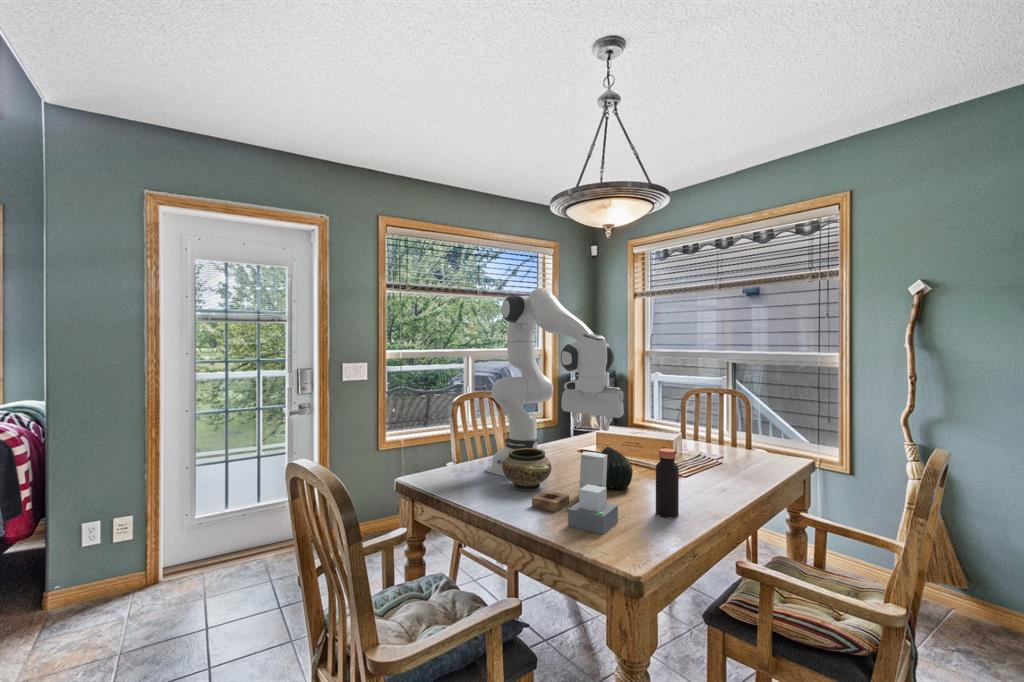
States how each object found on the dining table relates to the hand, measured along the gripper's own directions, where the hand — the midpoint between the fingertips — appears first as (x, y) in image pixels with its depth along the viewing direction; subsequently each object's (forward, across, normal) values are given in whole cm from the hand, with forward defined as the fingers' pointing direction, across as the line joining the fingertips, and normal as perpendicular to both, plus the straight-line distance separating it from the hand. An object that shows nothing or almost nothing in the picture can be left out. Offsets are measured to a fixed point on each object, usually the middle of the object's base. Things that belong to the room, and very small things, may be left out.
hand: (591, 428), depth 156 cm
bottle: (+26, -22, -9) cm, 35 cm away
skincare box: (+27, +4, -12) cm, 29 cm away
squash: (+27, +3, -26) cm, 37 cm away
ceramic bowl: (+27, +29, -9) cm, 41 cm away
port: (+26, -6, +11) cm, 29 cm away
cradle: (+26, +12, +4) cm, 29 cm away
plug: (+25, -6, +11) cm, 28 cm away
